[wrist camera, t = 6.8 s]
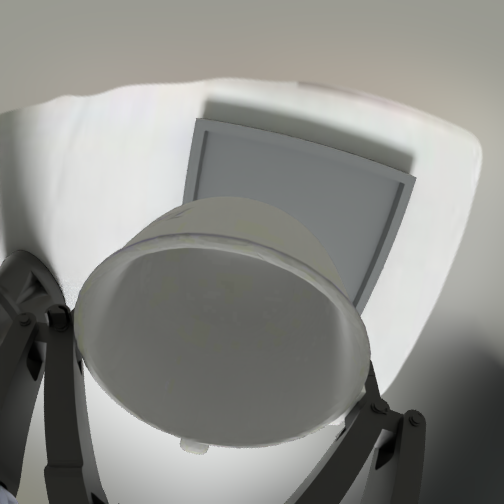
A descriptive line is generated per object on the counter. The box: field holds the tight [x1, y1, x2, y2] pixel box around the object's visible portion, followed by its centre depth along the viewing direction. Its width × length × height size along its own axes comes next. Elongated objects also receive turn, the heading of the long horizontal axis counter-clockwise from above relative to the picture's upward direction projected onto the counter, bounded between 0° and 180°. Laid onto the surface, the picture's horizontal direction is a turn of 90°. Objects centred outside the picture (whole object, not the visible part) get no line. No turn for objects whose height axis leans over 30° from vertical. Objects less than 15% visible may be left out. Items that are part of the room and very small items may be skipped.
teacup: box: [74, 197, 371, 455], centre depth 13 cm, size 14×11×8 cm
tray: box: [182, 118, 416, 316], centre depth 28 cm, size 21×18×2 cm
